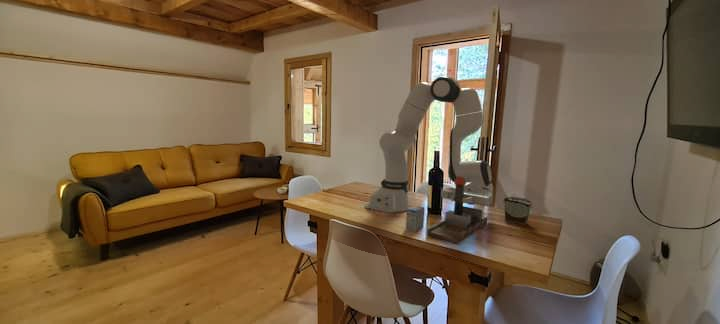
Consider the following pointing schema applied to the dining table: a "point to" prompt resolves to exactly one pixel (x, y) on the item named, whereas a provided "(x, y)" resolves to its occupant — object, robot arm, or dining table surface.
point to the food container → (517, 209)
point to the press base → (455, 233)
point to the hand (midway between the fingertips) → (458, 199)
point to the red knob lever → (458, 207)
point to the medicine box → (415, 218)
